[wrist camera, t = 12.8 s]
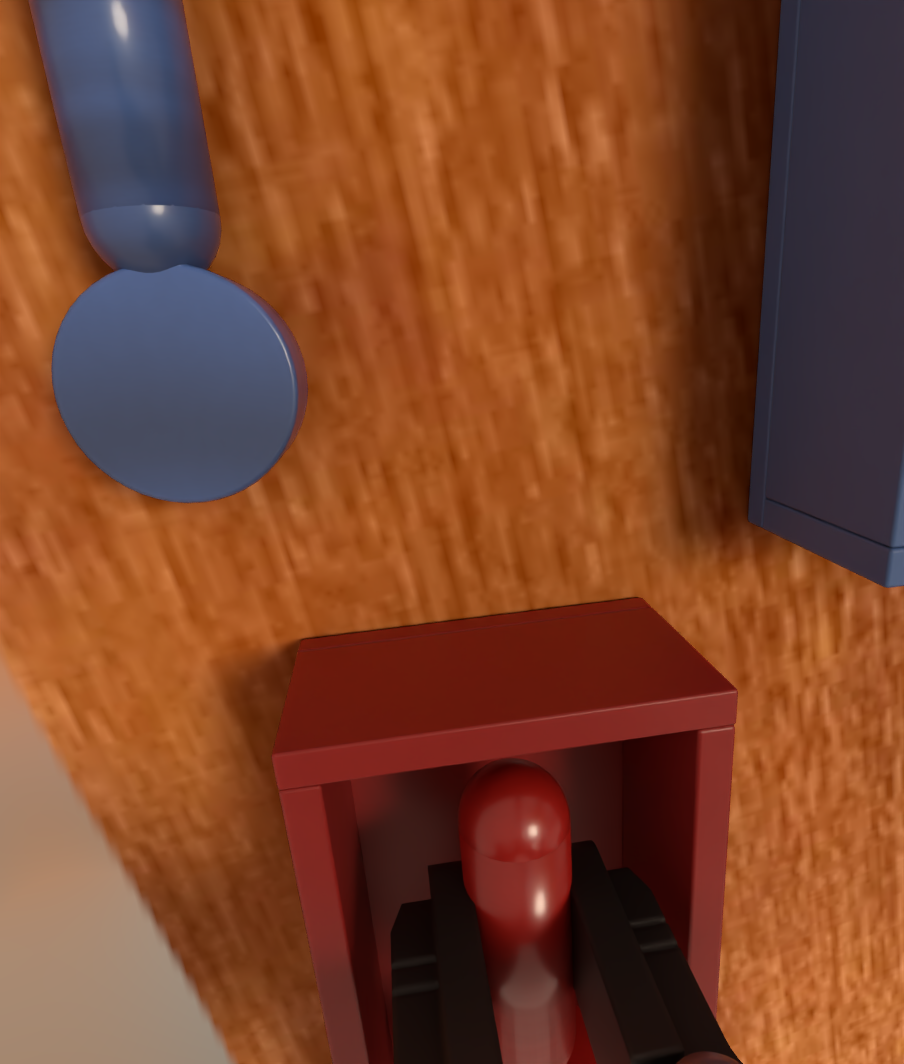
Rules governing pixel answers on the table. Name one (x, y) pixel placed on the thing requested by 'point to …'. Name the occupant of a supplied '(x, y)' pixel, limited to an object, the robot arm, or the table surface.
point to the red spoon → (524, 908)
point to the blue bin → (835, 291)
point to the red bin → (480, 738)
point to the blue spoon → (157, 269)
